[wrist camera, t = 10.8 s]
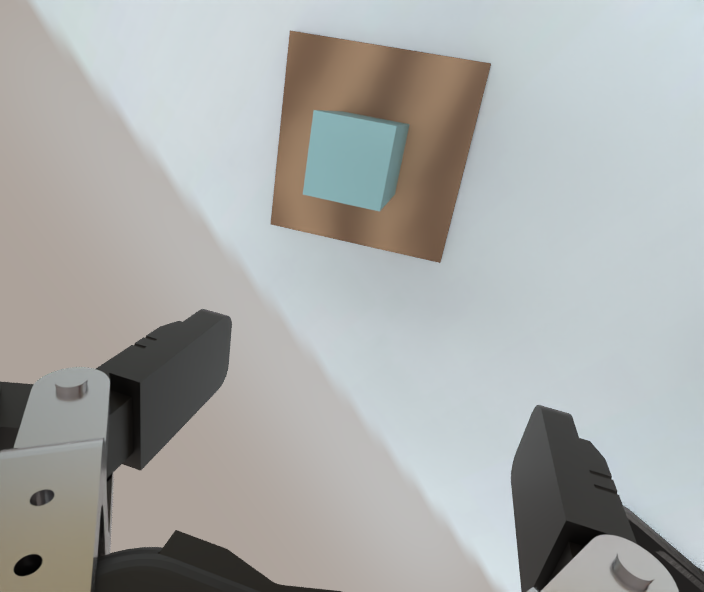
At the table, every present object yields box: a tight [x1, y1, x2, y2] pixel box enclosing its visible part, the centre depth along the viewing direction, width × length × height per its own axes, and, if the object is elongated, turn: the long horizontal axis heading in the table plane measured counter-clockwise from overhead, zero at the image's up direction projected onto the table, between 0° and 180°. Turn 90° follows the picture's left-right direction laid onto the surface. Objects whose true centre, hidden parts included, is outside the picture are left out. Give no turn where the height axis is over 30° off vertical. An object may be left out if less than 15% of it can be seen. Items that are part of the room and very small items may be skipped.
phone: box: [623, 507, 704, 592], centre depth 43 cm, size 8×1×15 cm
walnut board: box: [271, 31, 491, 263], centre depth 35 cm, size 14×14×1 cm
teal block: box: [303, 110, 409, 211], centre depth 31 cm, size 5×5×7 cm
